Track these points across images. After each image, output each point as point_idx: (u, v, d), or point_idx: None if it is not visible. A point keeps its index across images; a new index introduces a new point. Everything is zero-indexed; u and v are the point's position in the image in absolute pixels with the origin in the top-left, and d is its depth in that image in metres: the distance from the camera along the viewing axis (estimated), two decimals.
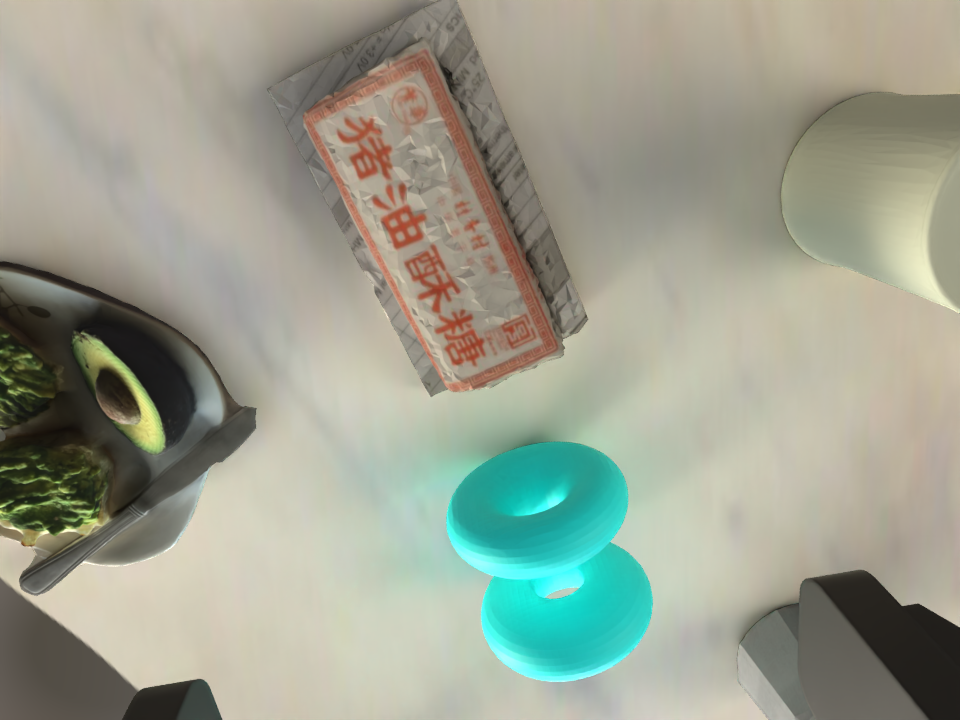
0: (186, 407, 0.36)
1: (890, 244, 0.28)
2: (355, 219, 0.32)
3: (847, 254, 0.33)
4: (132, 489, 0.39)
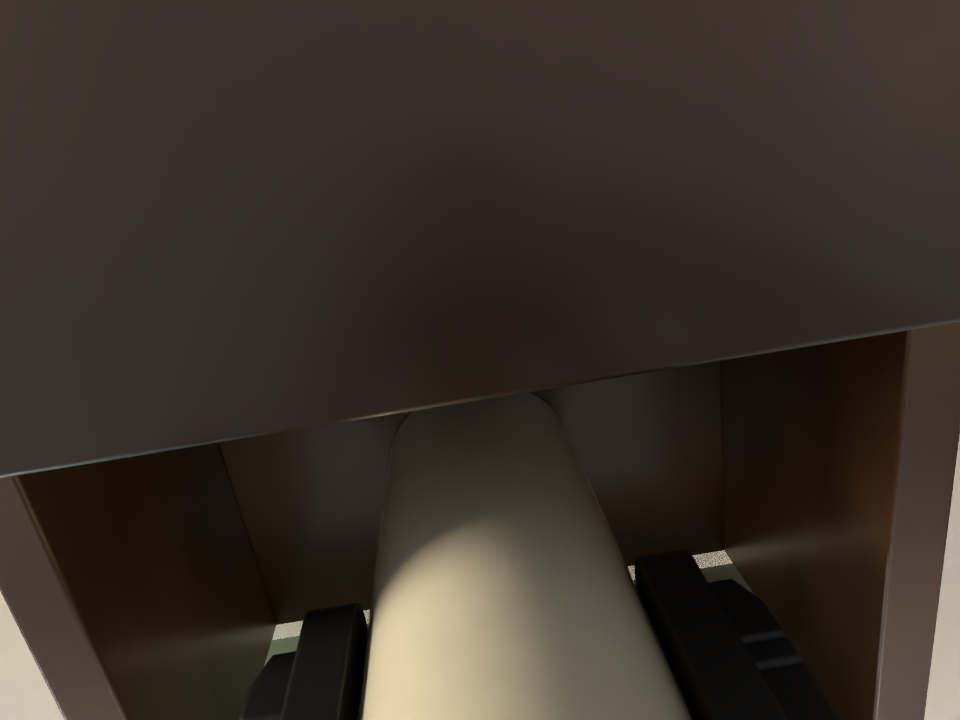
0: None
1: None
2: None
3: None
4: None
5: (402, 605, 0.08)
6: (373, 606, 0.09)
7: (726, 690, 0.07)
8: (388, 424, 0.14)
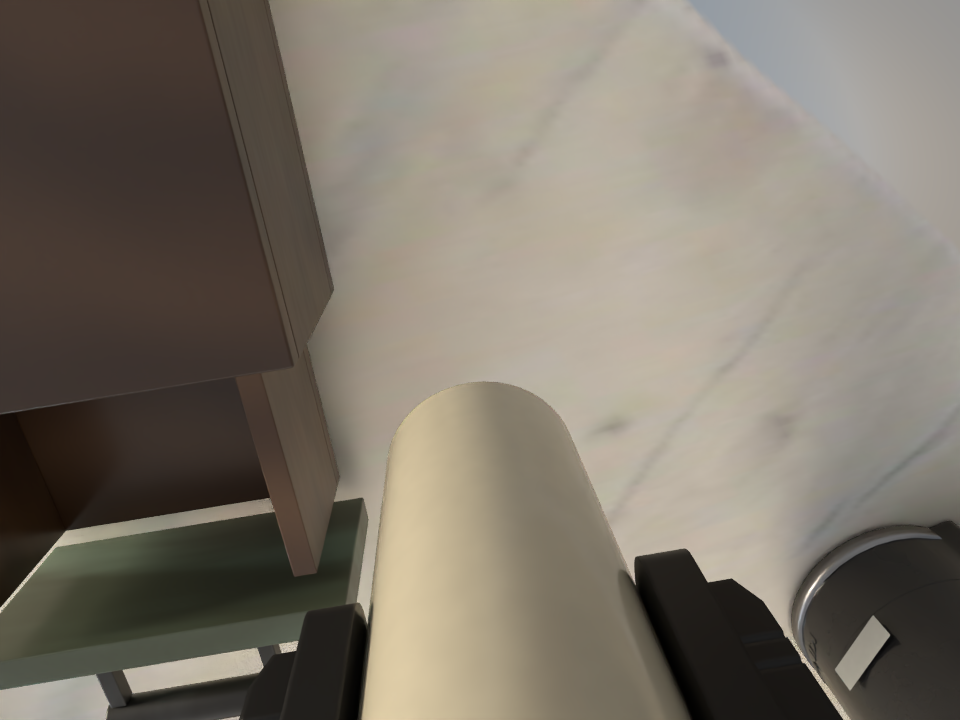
0: None
1: None
2: None
3: None
4: None
5: (401, 604, 0.08)
6: (372, 605, 0.09)
7: (725, 690, 0.07)
8: (113, 418, 0.26)
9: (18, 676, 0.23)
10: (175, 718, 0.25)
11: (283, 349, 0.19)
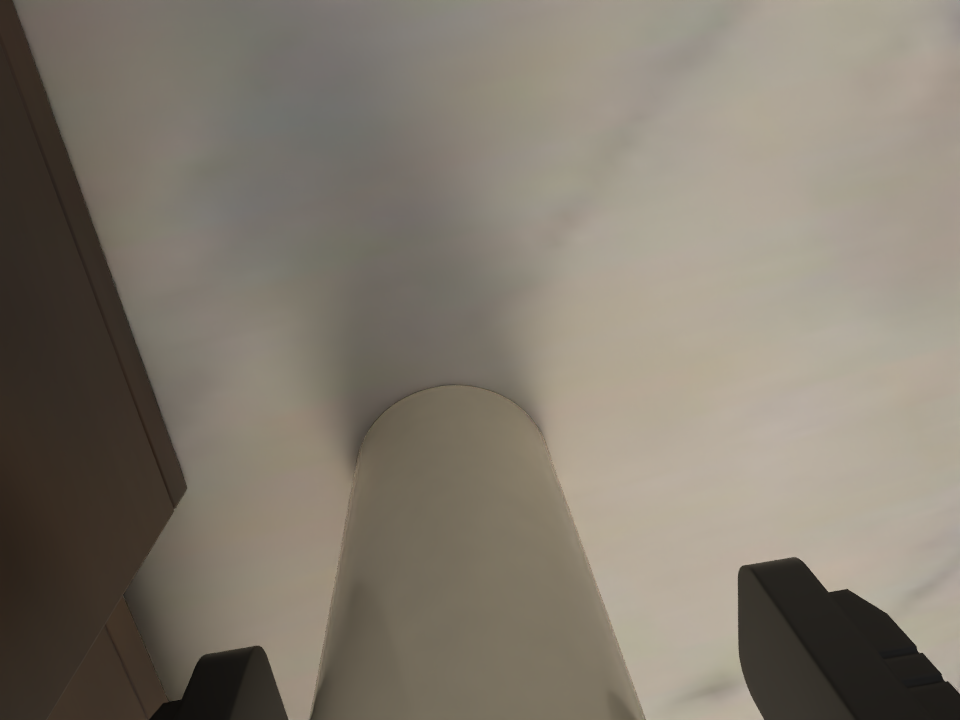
0: None
1: None
2: None
3: None
4: None
5: (353, 622, 0.08)
6: (328, 621, 0.09)
7: (877, 712, 0.07)
8: None
9: None
10: None
11: None
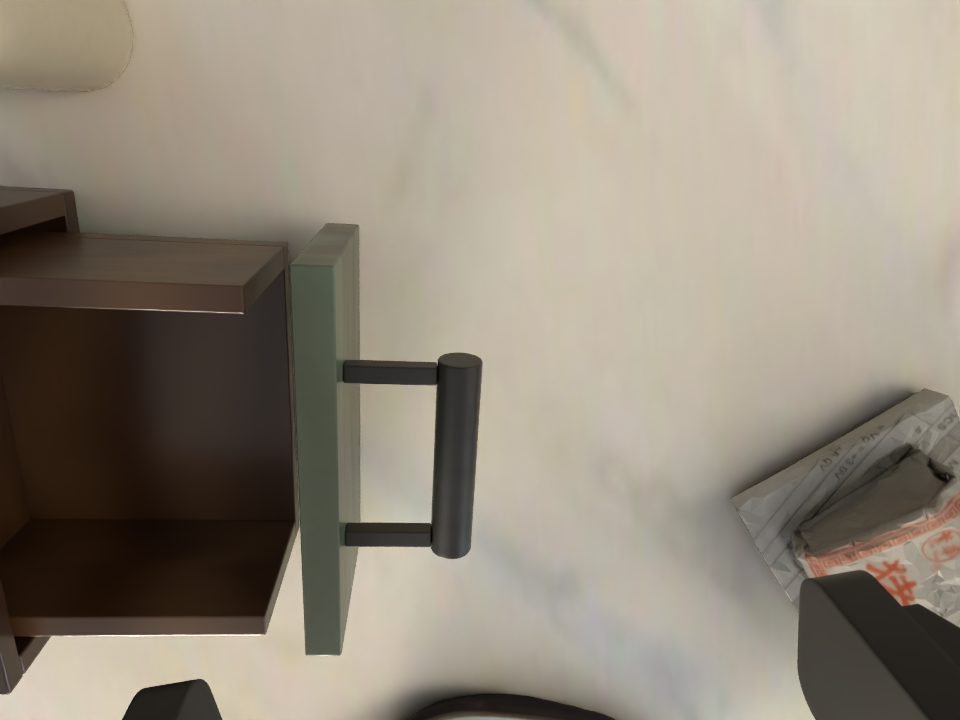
0: None
1: None
2: None
3: None
4: None
5: None
6: None
7: None
8: (171, 442, 0.26)
9: (325, 608, 0.22)
10: (450, 493, 0.22)
11: None
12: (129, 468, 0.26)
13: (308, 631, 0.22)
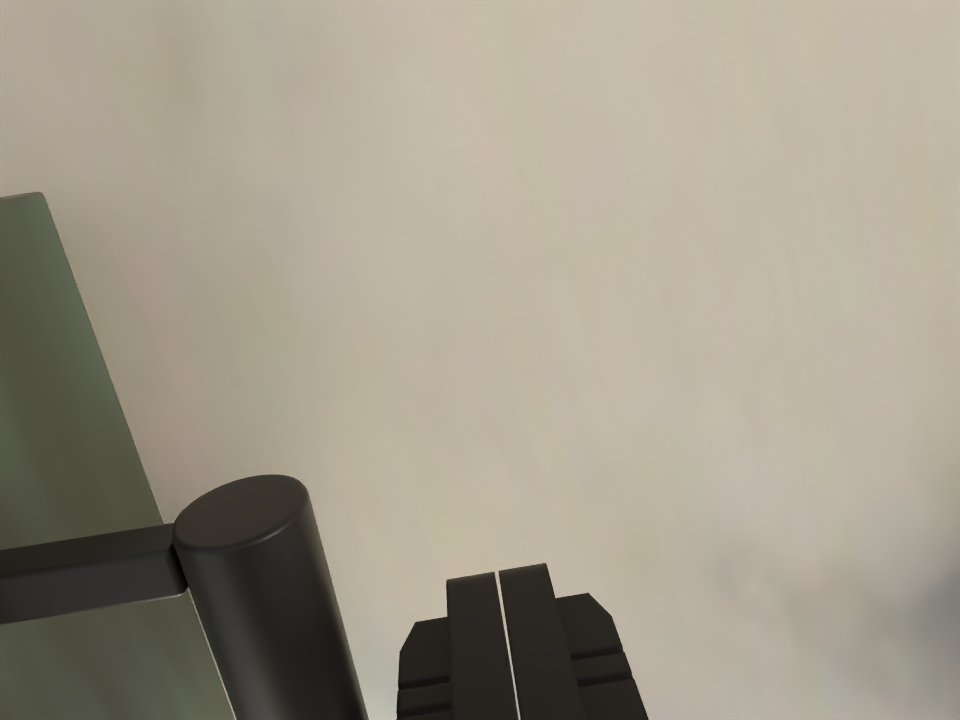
0: None
1: None
2: None
3: None
4: None
5: None
6: None
7: (541, 706, 0.07)
8: None
9: None
10: None
11: None
12: None
13: None
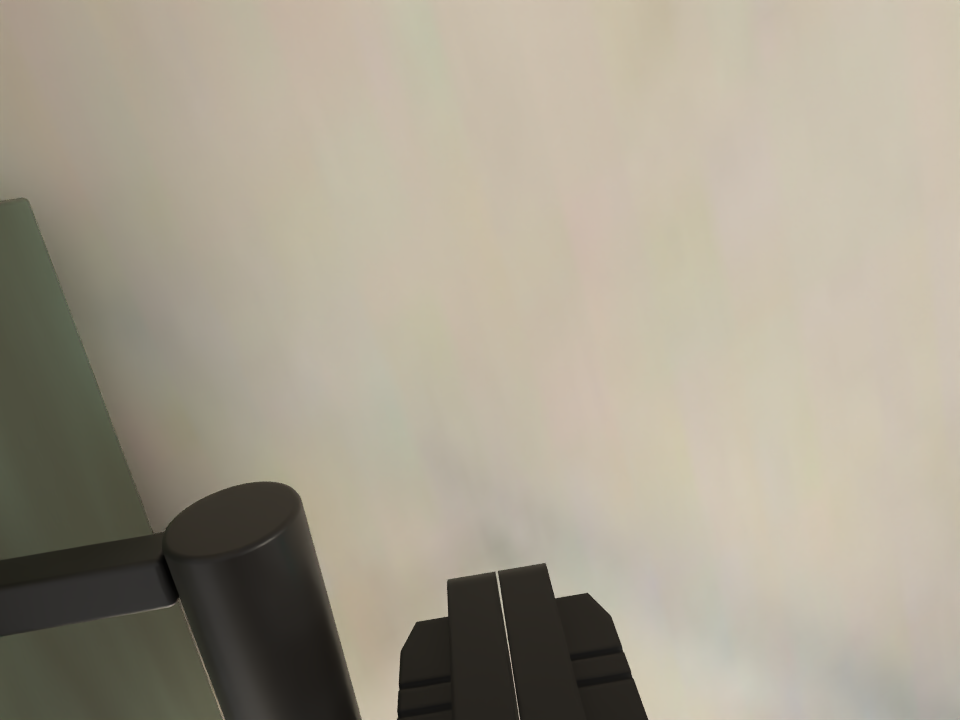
0: None
1: None
2: None
3: None
4: None
5: None
6: None
7: (540, 706, 0.07)
8: None
9: None
10: None
11: None
12: None
13: None
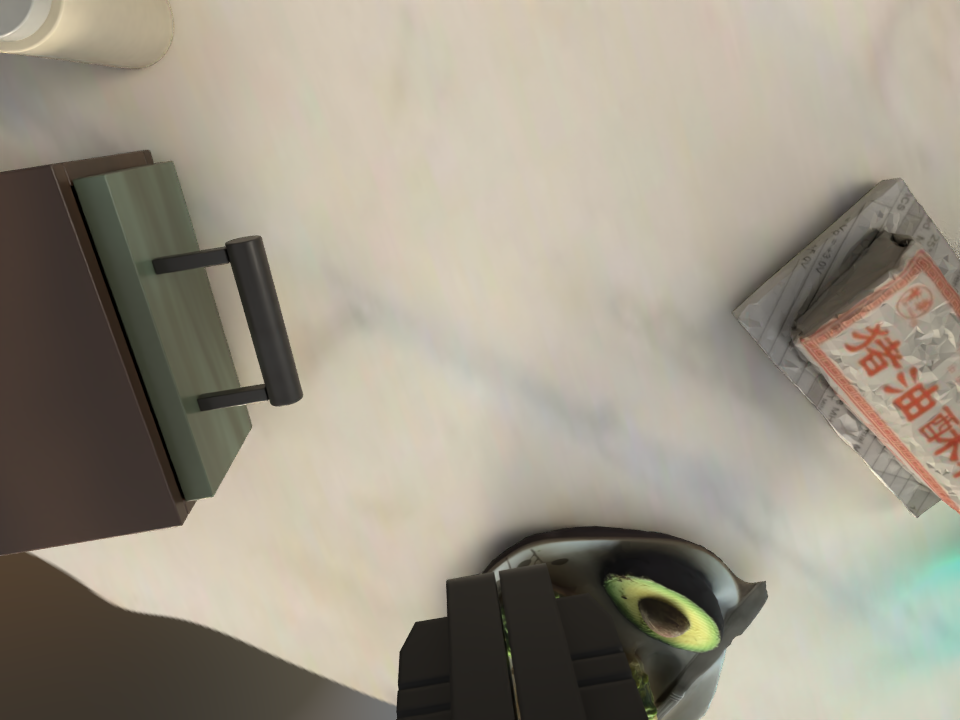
0: None
1: None
2: (858, 406, 0.34)
3: None
4: (659, 677, 0.43)
5: None
6: None
7: (541, 706, 0.07)
8: None
9: (187, 458, 0.28)
10: (264, 349, 0.27)
11: (34, 172, 0.23)
12: None
13: (180, 480, 0.28)
